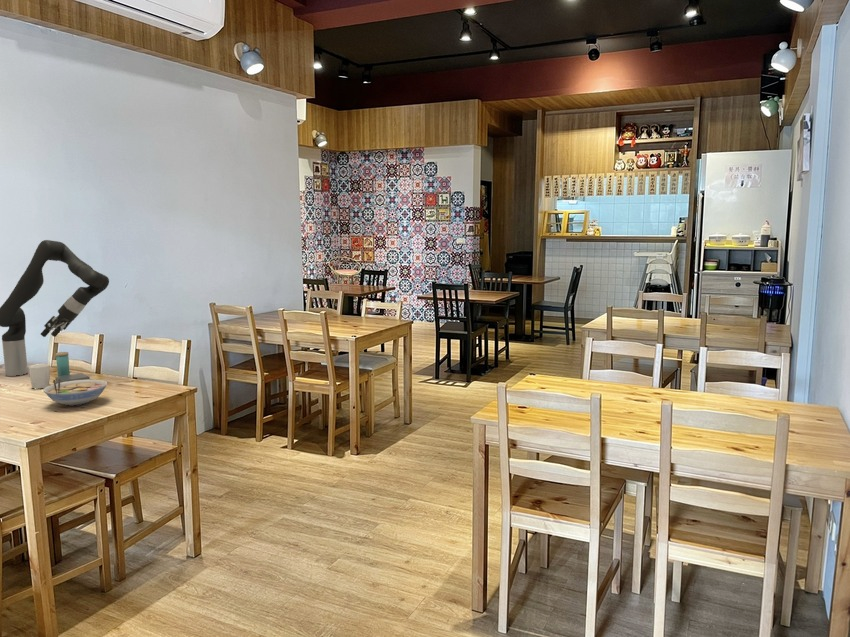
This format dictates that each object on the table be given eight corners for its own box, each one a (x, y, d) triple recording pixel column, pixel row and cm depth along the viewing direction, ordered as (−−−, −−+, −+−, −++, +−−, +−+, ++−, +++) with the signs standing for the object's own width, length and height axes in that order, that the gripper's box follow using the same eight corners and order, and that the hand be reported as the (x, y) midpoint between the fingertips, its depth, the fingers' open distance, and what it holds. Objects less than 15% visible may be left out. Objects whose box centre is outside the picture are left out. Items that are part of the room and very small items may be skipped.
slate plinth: (55, 384, 285) (55, 376, 284) (81, 380, 292) (81, 372, 292) (63, 388, 277) (63, 380, 277) (90, 383, 285) (89, 376, 285)
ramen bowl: (110, 407, 247) (109, 387, 246) (43, 415, 236) (41, 394, 235) (107, 393, 269) (105, 374, 268) (45, 400, 258) (43, 381, 256)
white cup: (55, 385, 283) (53, 363, 281) (42, 389, 275) (40, 367, 273) (38, 385, 283) (37, 363, 282) (26, 389, 276) (24, 367, 274)
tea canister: (56, 380, 293) (54, 353, 291) (68, 378, 297) (66, 351, 295) (60, 381, 289) (57, 354, 287) (72, 379, 293) (69, 352, 291)
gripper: (73, 303, 286) (49, 330, 285) (57, 301, 271) (32, 330, 271) (86, 313, 286) (62, 340, 285) (70, 312, 272) (45, 341, 271)
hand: (47, 335), depth 278 cm, fingers open, 8 cm apart
